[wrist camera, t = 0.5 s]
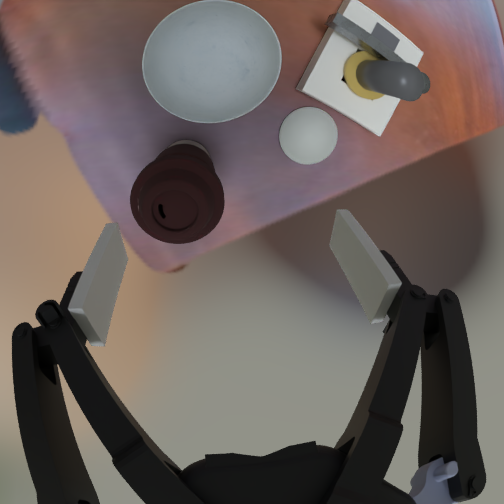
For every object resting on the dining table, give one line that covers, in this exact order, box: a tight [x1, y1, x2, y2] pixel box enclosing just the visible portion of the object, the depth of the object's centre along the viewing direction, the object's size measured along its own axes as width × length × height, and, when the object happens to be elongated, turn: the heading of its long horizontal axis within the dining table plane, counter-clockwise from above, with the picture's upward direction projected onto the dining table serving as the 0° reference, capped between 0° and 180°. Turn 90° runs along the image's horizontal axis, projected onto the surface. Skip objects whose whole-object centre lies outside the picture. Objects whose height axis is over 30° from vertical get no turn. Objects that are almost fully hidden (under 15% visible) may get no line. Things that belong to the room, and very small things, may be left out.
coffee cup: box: [130, 140, 224, 244], centre depth 32 cm, size 10×10×15 cm
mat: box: [279, 107, 338, 164], centre depth 38 cm, size 9×9×1 cm
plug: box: [343, 51, 424, 101], centre depth 27 cm, size 7×7×13 cm
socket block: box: [296, 0, 423, 137], centre depth 30 cm, size 17×14×4 cm
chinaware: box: [142, 0, 282, 123], centre depth 27 cm, size 15×15×8 cm
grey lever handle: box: [325, 13, 430, 94], centre depth 25 cm, size 17×3×2 cm, turn 66°
